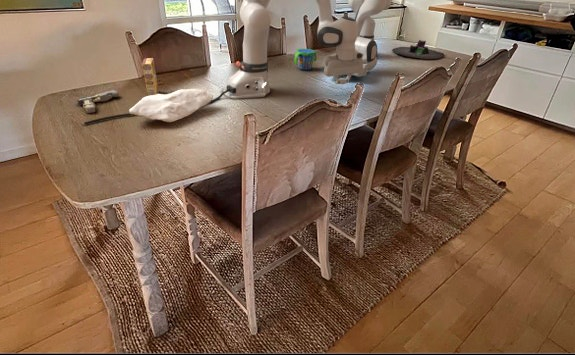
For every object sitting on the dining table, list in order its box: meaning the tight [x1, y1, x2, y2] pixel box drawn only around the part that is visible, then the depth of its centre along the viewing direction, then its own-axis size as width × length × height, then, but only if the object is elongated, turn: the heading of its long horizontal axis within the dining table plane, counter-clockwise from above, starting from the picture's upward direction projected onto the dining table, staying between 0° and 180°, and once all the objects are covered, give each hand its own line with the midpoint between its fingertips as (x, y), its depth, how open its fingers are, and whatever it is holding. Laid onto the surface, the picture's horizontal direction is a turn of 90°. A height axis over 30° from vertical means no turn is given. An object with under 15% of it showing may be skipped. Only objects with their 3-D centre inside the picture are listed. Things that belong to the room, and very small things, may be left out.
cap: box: [338, 77, 347, 85], centre depth 177 cm, size 4×4×2 cm
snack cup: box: [293, 48, 318, 71], centre depth 208 cm, size 16×10×10 cm
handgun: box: [76, 89, 120, 114], centre depth 155 cm, size 3×18×15 cm
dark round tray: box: [391, 39, 445, 60], centre depth 250 cm, size 35×35×9 cm
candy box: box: [141, 57, 160, 96], centre depth 163 cm, size 9×4×15 cm, turn 13°
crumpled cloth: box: [128, 88, 214, 123], centre depth 147 cm, size 24×35×9 cm
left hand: (341, 83), depth 178 cm, fingers closed on cap, 4 cm apart
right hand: (338, 70), depth 192 cm, fingers closed on bottle, 5 cm apart
